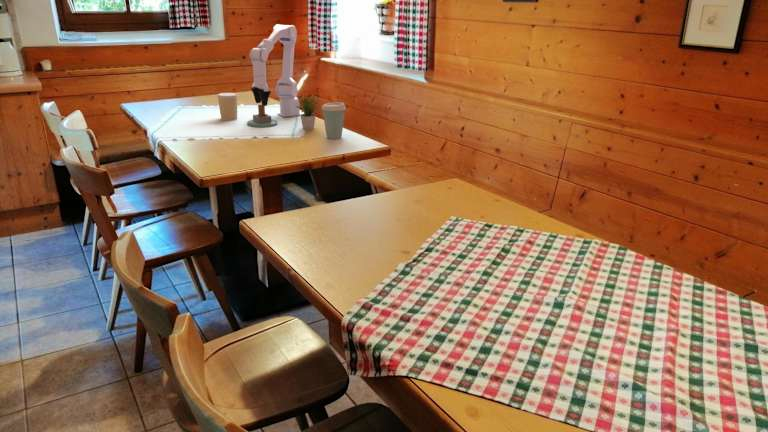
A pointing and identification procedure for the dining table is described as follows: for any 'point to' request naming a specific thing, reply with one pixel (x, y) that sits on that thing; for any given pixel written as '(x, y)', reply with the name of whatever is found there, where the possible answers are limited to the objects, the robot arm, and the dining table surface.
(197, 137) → the dining table surface
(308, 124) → the house plant
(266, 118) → the candle dish
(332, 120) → the disposable coffee cup
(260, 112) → the walnut peg
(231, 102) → the coffee cup
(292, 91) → the robot arm
